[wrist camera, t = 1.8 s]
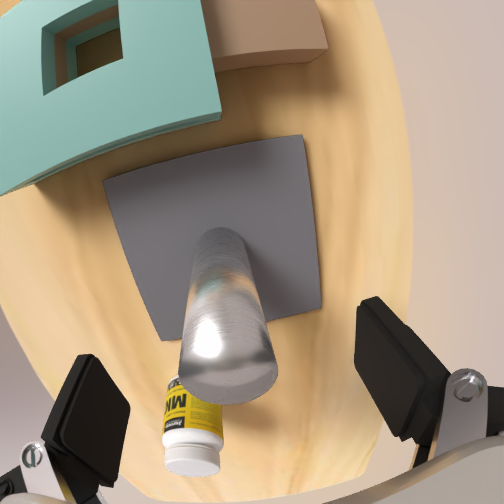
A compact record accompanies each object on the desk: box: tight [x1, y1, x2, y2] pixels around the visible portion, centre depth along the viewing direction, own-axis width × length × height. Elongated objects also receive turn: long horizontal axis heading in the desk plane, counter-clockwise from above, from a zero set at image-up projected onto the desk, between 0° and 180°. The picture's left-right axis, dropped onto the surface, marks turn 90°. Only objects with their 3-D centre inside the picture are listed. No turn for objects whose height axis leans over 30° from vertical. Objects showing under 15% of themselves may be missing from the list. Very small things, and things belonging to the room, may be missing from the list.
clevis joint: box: [0, 0, 329, 196], centre depth 10 cm, size 22×12×4 cm, turn 100°
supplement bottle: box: [162, 375, 224, 477], centre depth 18 cm, size 5×5×8 cm
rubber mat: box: [103, 134, 321, 341], centre depth 17 cm, size 12×12×1 cm
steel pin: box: [178, 227, 278, 405], centre depth 12 cm, size 3×3×10 cm
